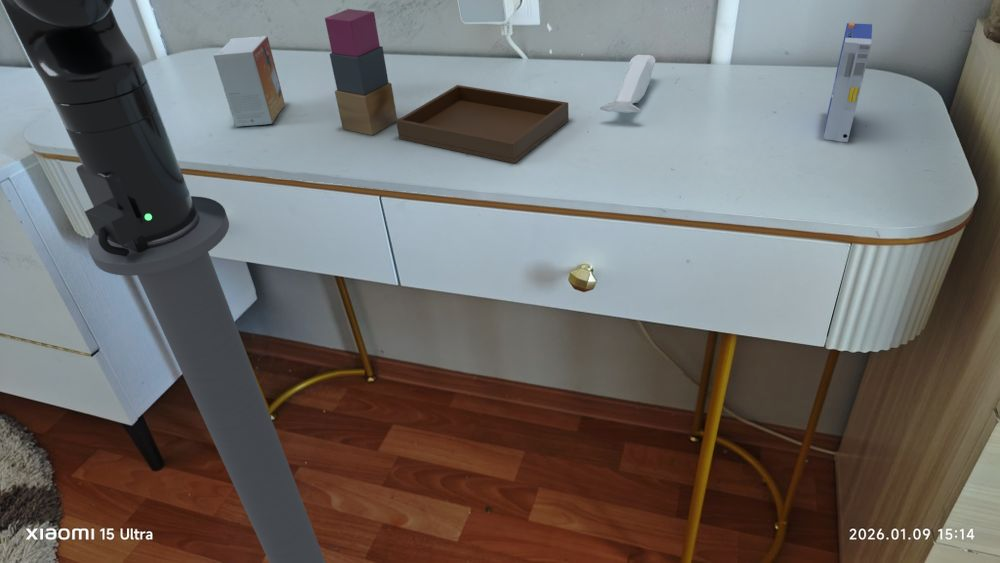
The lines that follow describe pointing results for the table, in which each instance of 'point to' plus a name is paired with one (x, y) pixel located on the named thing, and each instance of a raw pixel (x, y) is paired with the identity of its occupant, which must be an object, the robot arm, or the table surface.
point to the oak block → (367, 110)
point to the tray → (484, 122)
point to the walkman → (848, 81)
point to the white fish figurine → (633, 85)
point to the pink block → (352, 32)
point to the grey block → (360, 72)
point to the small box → (250, 80)
